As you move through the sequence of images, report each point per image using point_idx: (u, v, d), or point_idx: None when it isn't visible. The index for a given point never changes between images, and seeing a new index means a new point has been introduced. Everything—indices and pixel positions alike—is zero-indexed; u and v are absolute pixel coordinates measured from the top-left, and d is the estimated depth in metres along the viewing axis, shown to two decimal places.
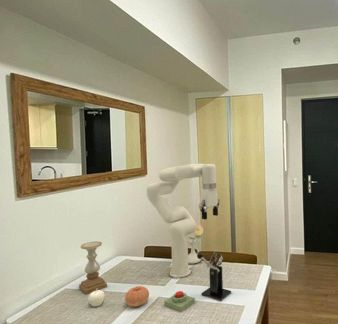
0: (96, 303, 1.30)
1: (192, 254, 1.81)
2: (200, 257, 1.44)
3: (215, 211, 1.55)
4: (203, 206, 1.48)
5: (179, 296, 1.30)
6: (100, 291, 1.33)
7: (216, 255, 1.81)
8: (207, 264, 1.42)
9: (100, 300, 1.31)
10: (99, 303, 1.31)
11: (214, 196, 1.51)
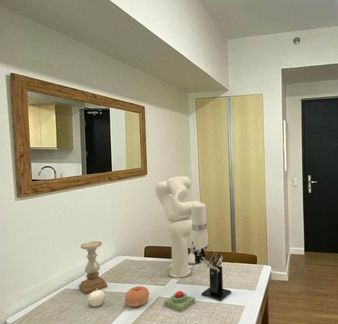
0: (96, 303, 1.30)
1: (192, 254, 1.81)
2: (200, 257, 1.44)
3: None
4: (194, 249, 1.43)
5: (179, 296, 1.30)
6: (100, 291, 1.33)
7: (216, 255, 1.81)
8: (207, 264, 1.42)
9: (100, 300, 1.31)
10: (99, 303, 1.31)
11: (204, 237, 1.44)
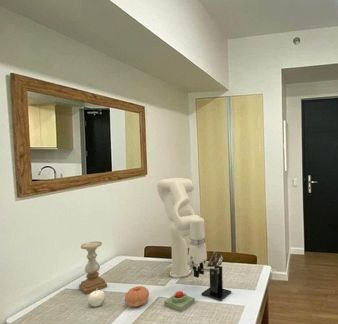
0: (96, 303, 1.30)
1: None
2: (198, 269, 1.45)
3: None
4: (193, 264, 1.44)
5: (179, 296, 1.30)
6: (100, 291, 1.33)
7: (216, 255, 1.81)
8: (206, 270, 1.42)
9: (100, 300, 1.31)
10: (99, 303, 1.31)
11: (203, 251, 1.45)
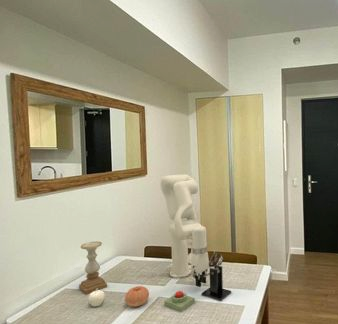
0: (96, 303, 1.30)
1: None
2: (200, 277, 1.44)
3: (203, 278, 1.46)
4: (195, 273, 1.43)
5: (179, 296, 1.30)
6: (100, 291, 1.33)
7: (216, 255, 1.81)
8: (207, 275, 1.42)
9: (100, 300, 1.31)
10: (99, 303, 1.31)
11: (205, 260, 1.45)
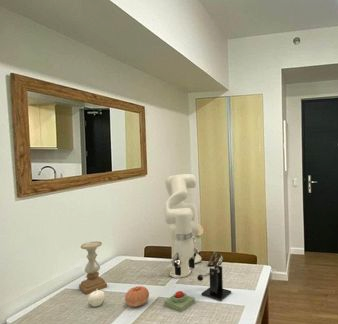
0: (96, 303, 1.30)
1: None
2: (200, 277, 1.44)
3: (191, 263, 1.38)
4: (177, 260, 1.31)
5: (179, 296, 1.30)
6: (100, 291, 1.33)
7: (216, 255, 1.81)
8: (207, 275, 1.42)
9: (100, 300, 1.31)
10: (99, 303, 1.31)
11: (189, 247, 1.34)
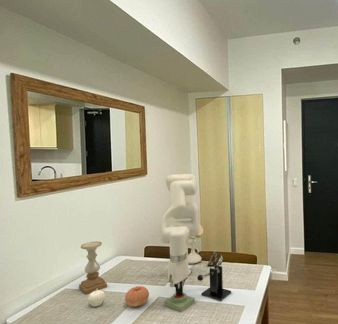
0: (96, 303, 1.30)
1: (192, 254, 1.81)
2: (200, 277, 1.44)
3: None
4: None
5: None
6: (100, 291, 1.33)
7: (216, 255, 1.81)
8: (207, 275, 1.42)
9: (100, 300, 1.31)
10: (99, 303, 1.31)
11: (184, 268, 1.31)
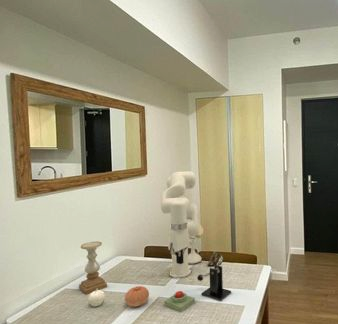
0: (96, 303, 1.30)
1: (192, 254, 1.81)
2: (200, 277, 1.44)
3: None
4: None
5: (179, 296, 1.30)
6: (100, 291, 1.33)
7: (216, 255, 1.81)
8: (207, 275, 1.42)
9: (100, 300, 1.31)
10: (99, 303, 1.31)
11: (184, 237, 1.33)
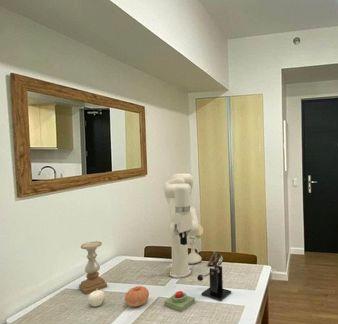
0: (96, 303, 1.30)
1: (192, 254, 1.81)
2: (200, 277, 1.44)
3: None
4: None
5: (179, 296, 1.30)
6: (100, 291, 1.33)
7: (216, 255, 1.81)
8: (207, 275, 1.42)
9: (100, 300, 1.31)
10: (99, 303, 1.31)
11: (187, 220, 1.42)
